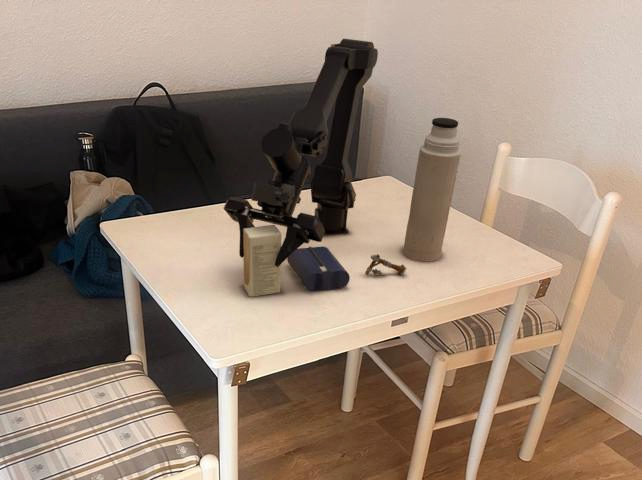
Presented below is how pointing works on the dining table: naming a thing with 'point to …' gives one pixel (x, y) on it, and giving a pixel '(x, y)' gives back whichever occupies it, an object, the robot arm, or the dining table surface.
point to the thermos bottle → (432, 191)
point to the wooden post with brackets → (386, 263)
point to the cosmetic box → (261, 260)
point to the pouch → (318, 269)
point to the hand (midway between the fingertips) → (258, 261)
